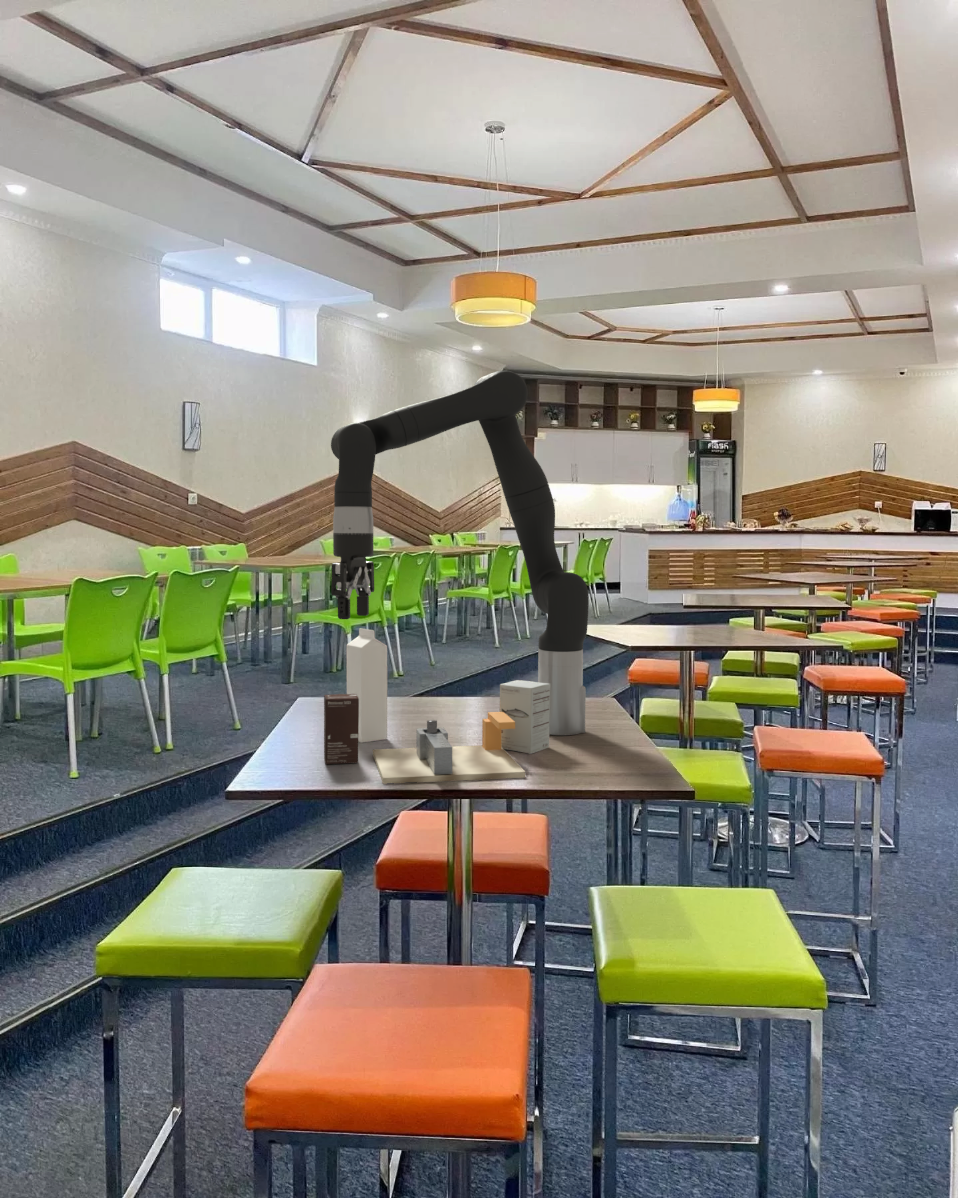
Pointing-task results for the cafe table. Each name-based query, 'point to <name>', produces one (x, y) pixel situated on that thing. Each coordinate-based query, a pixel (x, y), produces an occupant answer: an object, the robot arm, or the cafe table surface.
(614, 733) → the cafe table surface
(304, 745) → the cafe table surface
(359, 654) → the milk
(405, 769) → the board
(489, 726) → the block
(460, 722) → the cafe table surface
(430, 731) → the pintle
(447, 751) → the link
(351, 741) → the box
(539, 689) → the supplement box
